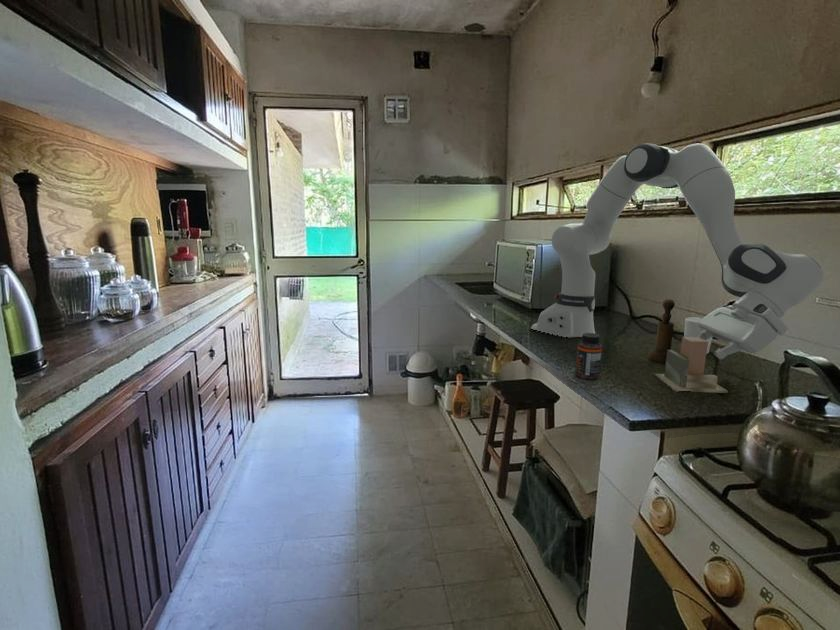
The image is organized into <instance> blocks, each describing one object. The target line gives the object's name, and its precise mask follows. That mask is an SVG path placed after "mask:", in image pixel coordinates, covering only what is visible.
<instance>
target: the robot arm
mask: <svg viewBox="0 0 840 630" xmlns="http://www.w3.org/2000/svg"><path fill="white" fill-rule="evenodd" d="M643 185H645V186H649V187H657V188H662V189H677V188H679V190H680V193H681V195H682V196H683V198H684V200H685V201H686V203H687V204H688V206H689V208H690V209H691V211H692V212H693V214H694V215H695V216H696V218H697V220H698V222H699V223H700V225H701V226H702V228H703V229H704V231H705V233H706V235H707V237H708V239H709V241H710V243H711V246H712V247H713V249H714V250H713V251H714V252H715V254H716V256H717V258H718V260H719V262H720V265H721V284H722V287H723V288H724V290H725V291H726V292H727V293H728V294H729V295H732V296H734V297H739V298H737V300H736V301H734V303H732V305H727V306H722V307H721V306H720V307H718V308H716V309H714V310H713V311H710V313H708V314H707V315H705V316H704V317H702V318H703V319H701V320H700V321H699V323H698V326H699V327H700V329H701V330H702V331H701V332H700V334H699V336H698V337H699V338H701V339H703V340H706V339H707V338H708V339H709V338H710V337H712V336H713V337H712V338H715V339H717V340H719V341H722V342H724V343H726V344H728V345H726V346H724V347H722V348H720V347H719V348H718V349H716V350H714V352H713V356H715V357H716V358H717V359H719V360H724V359H725V358H726V357H727V356H730V355H733V354H735V353H738V352H739V351H740V350H743V351H744V352H747V353H749V354H754V353H757V352H759V351H761V350H763V349H764V348H765V347H767V346H768V345H769V344H771V343H772V342H773V341H775V340H776V339H777V337H778V335H783V334H785V333H787V331H788V330H789V327H788V325H786V323H785V322H784V321H783V320H782V318H783V317H784V316H785V314H786V313H787V312H788V311H789V309H792V308H793V307H795V306H798V305H799V304H801V303H802V302H803V301H804V300H805V299H807V298H808V297H809V296H810V295H812V294H813V293H814V292H815V291H816V290H817V289H818V288H819V287H820V285H821V284H822V282H823V281H824V271H823V270H822V267H821V265H819V263H818V262H817V261H816V260H815V259H813V258H812V257H810V256H808V255H807V254H803V253H800V254H799V253H797V254H795V253H794V254H793V253H789V252H788V253H787V252H782V251H779V250H777V249H773V248H771V247H769V246H767V245H765V244H764V243H760V242H745V243H744V242H743V241H742V239H741V237H740V235H739V233H738V230H737V228H736V225H735V216H734V215H735V214H734V213H735V212H734V211H735V204H736V203H735V202H736V190H735V187H734V186H735V185H734V183H733V180H732V177H731V175H730V173H729V171H728V169H727V168H726V166H725V165H724V163H723V162H722V161H721V159H720V158H719V157H718V155H717V154H716V153H715V152H714V151H713V150H712V149H711V148H710V147H709V146H708V145H706V144H705V143H698V142H697V143H692V144H689V145H687V146H685V147H684V148H682V149H681V150H679V151H678V149H674V148H671V147H668V146H661V145H658V144H655V143H640V144H637V145H635V146H634V147H632V148H631V149H630V150H629V151H628V152H627V154H626V155H622V156H621V157H619V158H618V159H617V160H616V161H615V162H614V163H613V164H612V165H611V166H610V167H609V169H608V170H607V171H606V172H605V174H604V176H603V177H602V179H600V181H599V183H598V184H597V186H596V188H595V189H594V191H593V192H592V194H591V195H590V197H589V198H588V199H587V202H586V209H587V211H586V214H585V216H584V219H583V221H581V222H580V223H568V224H565V225H562V226H559V227H557V229H555V230H554V231H553V234H552V235H551V247H552V248H553V250H554V252H555V253H557V255H558V257H559V261H560V265H561V266H560V267H561V273H562V274H561V275H562V276H561V292H559V293H558V294H556V295H555V296H554V300H555V302H554V303H553V304H551V305H550V306H548V307H547V308H545V309H544V310H542V311H541V312H540V314H539V316H538V320H537V322H536V323H533V324H532V325H531V327H530V330H531V329H533V330H537V331H536V332H538V331H541V332H540V333H543V332H545V333H544V334H547V333H549V335H552V334H553V336H557V335H558V336H557V337H561V336H562V338H566V337H568V339H569V338H582V336H583V334H584V333H594V334H596V331H595V329H596V328H595V325H594V323H595V322H594V310H595V304H596V295H595V286H596V276H597V274H596V272H595V270H594V269H593V267H592V265H591V260H590V255H595V254H599V253H601V252H603V251H605V250H606V249H607V248H608V247H609V245H610V243H611V240H612V236H611V233H612V229H614V226H615V223H616V221H617V220H618V218H619V216H620V215H621V213H622V212H623V211H624V209H625V208H626V206H627V204H628V203H629V202H630V201H631V199H632V198H633V196H634V194H636V192H637V190H638V189H639V188H640V187H642V186H643ZM533 330H532V331H533Z"/></svg>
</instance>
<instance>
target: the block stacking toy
mask: <svg viewBox="0 0 840 630" xmlns="http://www.w3.org/2000/svg"><path fill="white" fill-rule="evenodd" d="M688 367H689V360H688V359H687V358H685V357H683V356H682V355H680V353H678V352H677V351H675V350H673V349H671V350H667V358H666V363H665V368H664V373H654V376H655V377H656V378H657V379H659V380H660V381H661V382H662V381H663V382H662V383H664V384H665V383H666V384H667V385H666V384H665V385H666V386H668V387H669V386H670V387H671V388H672V390H673V391H674V390H675V391H674V392H679V391H691V392H690V393H713V394H714V393H720V394H728V393H729V390H728V389H726V388H724V387H723V386H720V385H719V384H718V376H717V375H716V374H703V375H693V374H688ZM670 387H669V388H670ZM671 388H670V389H671Z"/></svg>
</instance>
